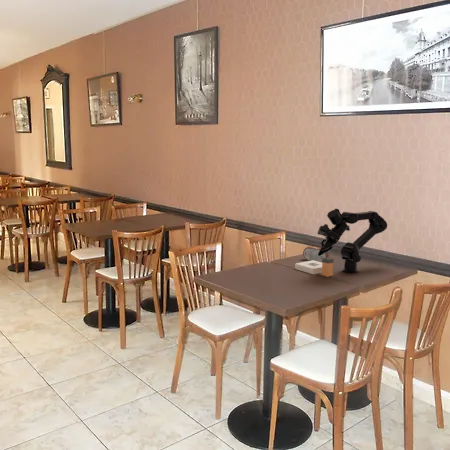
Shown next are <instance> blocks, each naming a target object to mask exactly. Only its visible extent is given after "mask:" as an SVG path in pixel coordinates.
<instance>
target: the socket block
mask: <svg viewBox="0 0 450 450" xmlns="http://www.w3.org/2000/svg"><path fill="white" fill-rule="evenodd" d="M294 269H295V270H298V271H300V272H304V273H307V274H310V275H318V274H322V262H318V261H315V260H311V261H308V260H306V261H300V262H297V263H295V264H294Z"/></svg>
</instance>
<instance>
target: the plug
mask: <svg viewBox="0 0 450 450" xmlns="http://www.w3.org/2000/svg"><path fill="white" fill-rule="evenodd" d="M334 261H335V260H334V258H332V257H329V256H328V257H327V258H323V259H322V273H321V275H322V276H324V277H327V278H329V277H333V275H334Z"/></svg>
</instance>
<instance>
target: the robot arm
mask: <svg viewBox="0 0 450 450" xmlns="http://www.w3.org/2000/svg"><path fill="white" fill-rule="evenodd" d="M326 216H327V218H328V220H329V221H330V223H331V224H332V226H333V227H331V228H330V227H329V225H328V223H324V225H320V226H319V227H318V229H317V232H316V233H317V235H319V236H323V237H324V238H325V239H322V241H321V242H320V243H319V245H320V248H321V249H320V251H319V253H318V256H321V255H322V254H324V253H326V252H328V253H329V252H330V251H332V248H333V247H334V245H336V244H337V243H338V242H339V241H340V240H341V237H342V236H343V234H344V233H345V232H346V231H348V232H350V231H351V229H350V225H353V224H355V223H357V222H359V221H365V220H366V221H367V220H368V223H369V225H368V228H367V229H366V230H365V231H364V232H363V233H362V234H361V235H359V237H357V239H355V240H354V241H353V242H346V243H345V244H344V245H342V248H341V249H340V256H341V259H342V260H344V268H343V269H342V271H341V272H345V273H348V274H354V273H355V274H356V273H359V271H360V270H357V268H358V263H359V262H361V261H362V260H361V258H362V257H361V255H359V254H360V249H362V248H363V247H364V246H365V245H366V244H367V243H368V242H369V241H370V240H371V239H373V237H374V236H376V235H377V234H381V233H383V232H384V231H386V230H387V228H388V223H387V221H386V220H385V218H384V217H382V216H381V215H380V214H379V213H378V212H376V211H373V210H369V211H362V212H360V211H359V212H348V211H343V212H342V213H341V212H340V209H339V208H334V209H333V210H330V211H329V212H328V213H327V215H326ZM348 224H349V225H348Z"/></svg>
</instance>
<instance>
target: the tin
mask: <svg viewBox="0 0 450 450" xmlns="http://www.w3.org/2000/svg"><path fill="white" fill-rule="evenodd" d="M320 249H321V247H317V246H307V247H305V248H304V249H303V252H302V255H303V257H304V259H305V260H306V261H311V260H315V261H318V262H322V259H323V258H327V257H328V258H329V251H328V252H326V253H324V254H322V255H321V256H318V253H319V251H320Z"/></svg>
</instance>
